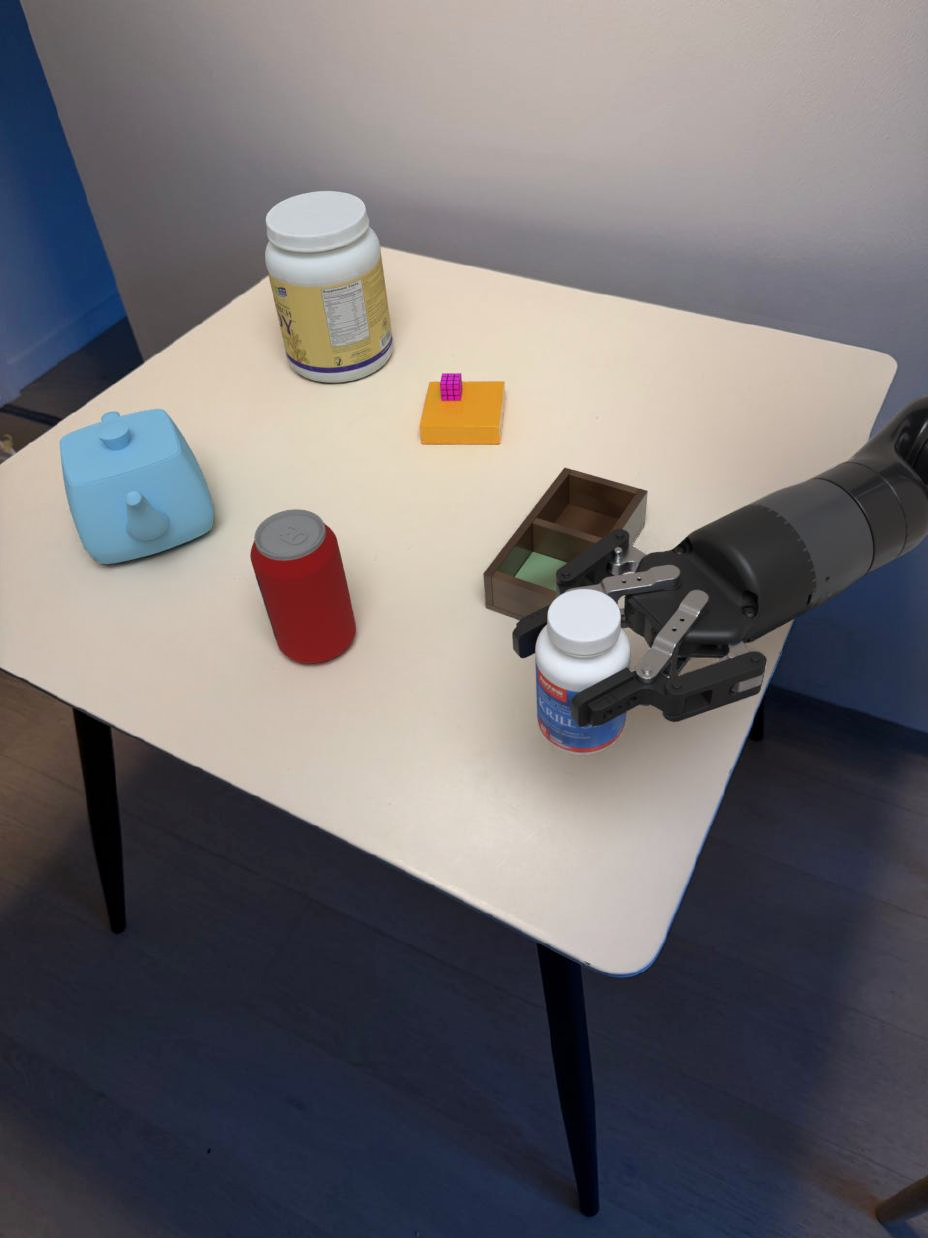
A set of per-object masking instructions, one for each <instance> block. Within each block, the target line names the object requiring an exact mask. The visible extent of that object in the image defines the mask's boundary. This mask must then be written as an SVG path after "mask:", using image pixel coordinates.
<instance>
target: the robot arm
mask: <svg viewBox="0 0 928 1238" xmlns="http://www.w3.org/2000/svg"><path fill="white" fill-rule="evenodd" d="M927 535H928V394H927V393H926V394H924V395H921V396H919V397H916V398H914V399H912V400H911V401H909V402H907V403H906V404H905V405H904V406H902V408H901V409H900V410H898V411H897V413H896V414H894V416H893V417H892V418H891V419H890V420H889V421H888V422H887V423H886V424H885V425H884V426H883V427H882V428H881V429H880V430H879V431H878V432H877V433H876V434H875V435H873V437H871V438H870V439H869V440H868V441H867V442H866V443H864V444H863V446H862V447H861V448H859V449H858V450H857V451H856V452H855V453H854V454H853V455H851V457H849V458H848V459H847V460H845V461H843V462H840V463H838V464H836V465H835V466H832V467H830V468H828V469H826V470H824V471H821V472H820V473H818V474H816V475H814V476H812V477H810V478H808V479H806V480H803V481H802V482H801V481H800V482H799V483H795V484H792V485H789V486H786V487H783V488H780V489H777V490H775V491H773V492H770V493H768V494H766V495H765V496H762V497H760V498H758V499H756V500H754V501H752V502H750V503H748V504H746V505H743V506H742V507H740V508H738V509H736V510H733V511H731V512H730V513H728V514H725V515H724V516H721V517H720V518H718V519H716V520H713V521H712V522H711V521H710V522H709V523H707V524H705V525H703V526H701V527H699V528H697V529H695V530H693V531H691V532H690V533H689V534H688V535H686V537H684V538H683V539H682V540H681V541H680V542H679V543H678V544H677V545H675V547H673V548H671V549H669V550H664V551H653V552H649V553H644V551H642V550H640V549H638V548H636V547H635V546H633V545H630V544H629V533H628V532H627V531H626V530H623V529H616V530H613V531H612V532H610V533H609V534H608V535H606V536H605V537H603V538H602V539H601V540H599V541H598V542H596V543H595V544H593V545H592V546H591V547H589V548H588V549H586V550H585V551H584V552H582V553H581V554H579V555H578V556H576V557H575V558H574V559H572V560H571V561H569V562H568V563H567V564H565V565H564V566H562V567H561V568H559V569H558V570H557V572H556V598H557V597H559V596H560V595H562V594H564V593H566V592H568V591H572V590H577V589H590V590H596V591H599V592H602V593H604V594H606V595H608V596H609V597H610V598H612V599H613V600H614V601H615V602H616V604H617V605H618V606H619V600H620V599H621V598H622V597H624V601H623V608H619V610H620V614H621V628H622V629H623V630H624V629H630V630H631V631H632V632H634V633H635V634H636V635H639V636H640V637H642V638H644V640H645V642H646V644H647V646H648V648H649V650H648V651H647V653H645V655H644V656H643V657H642V659H641V660H640V661H639V663H638V664H637V665H636V666H635V670H633V671H632V670H629V669H628V668H627V667H626V668H624V669H623V670H621V671H619V672H617V673H615V674H613V675H611V676H609V677H607V678H606V679H604V680H602V681H600V682H598V683H596V684H594V685H592V686H590V687H589V688H587V689H585V690H583V691H581V692H579V693H577V694H576V695H575V696H574V697H573V699H572V701H571V717H572V719H573V720H574V721H575V722H576V723H577V725H578V726H579V727H584V726H586V725H588V724H591V725H592V726H599V725H603V724H605V723H607V722H609V721H610V720H612V719H614V718H616V717H617V716H620V715H621V714H623V713H625V712H626V713H627V712H629V711H630V710H632V709H634V708H636V707H638V706H643V707H648V706H650V707H651V706H652V707H654V708H656V709H658V710H659V711H661V712H662V714H661V715H662V716H663V718H664V719H665V720H666V721H667V722H671V723H677V722H682V721H684V720H687V719H689V718H692V717H695V716H699V715H702V714H705V713H707V712H711V711H713V710H716V709H719V708H721V707H725V706H727V705H730V704H734V703H737V702H739V701H742V700H745V699H749V698H750V697H754V696H757V695H758V694H759V693H760V692H761V689H762V685H763V683H764V679H765V678H764V677H765V673H766V667H767V663H768V660H767V657H766V655H765V654H764V653H763V652H761V651H757V650H752V651H751V650H750V649H749V647H748V646H747V645H746V644H750V643H753V642H754V641H756V640H759V639H760V638H762V637H765V636H766V635H767V634H770V633H771V632H773V631H775V630H777V629H778V628H780V627H782V626H784V625H785V624H788V623H790V622H791V621H793V620H795V619H797V618H799V617H800V616H802V615H805V614H806V613H808V612H810V611H812V610H813V609H815V608H818V607H821V606H823V605H824V604H825V603H827V602H828V601H830V600H832V599H833V598H835V597H837V596H838V595H839V594H841V593H843V591H845V590H847V588H849V587H850V586H851V585H853V584H854V583H855V582H857V581H858V580H860V579H861V578H863V577H865V576H867V575H869V574H871V573H872V572H875V571H876V570H878V569H880V568H882V567H884V566H886V565H887V564H889V563H891V562H893V561H895V560H897V559H899V558H900V557H902V556H904V555H906V554H907V553H909V552H911V551H912V550H913V549H915V548H916V547H918V546H919V545H920V544H921V542H923V541H924V539H925V538H926V537H927ZM550 605H551V604H550ZM550 605H548V606H546V607H544V608H542V609H540V610H538V611H536V612H533V613H531V614H530V615H527V616H525V617H523V618H521V619H520V620H518V621H517V623H516V626H515V628H513V630H512V633H511V637H512V639H511V640H512V650H513V651H514V652H515V654H516V655H517V656H518V657H519V658H520V659H527V658H528V657H531V656H533V655H535V648H536V642H537V639H538V636H539V634H540V632H541V631H542V629H543V628H544V627H545V626H546V625H547V616H548V610H549V607H550ZM695 658H696V659H719V662H715V663H713V664H709V665H707V666H703V667H701V668H697V669H694V670H691V671H687V672H686V673H683V674H680V673H681V672H682V671H683V669H684V668H685V667H686V665H687V664H688V663H689V661H690V660H691V659H695Z"/></svg>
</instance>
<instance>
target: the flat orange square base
mask: <svg viewBox="0 0 928 1238" xmlns="http://www.w3.org/2000/svg"><path fill="white" fill-rule="evenodd" d="M506 399H507V398H506V382H505V380H496V381H495V380H491V381H489V380H488V381H487V380H484V381H483V380H481V381H480V380H477V381H474V380H473V381H471V380H470V381H469V380H468V381H467V380H466V381H463V378H462V373H460V372H454V373H453V372H451V373H449V372H447V373H446V372H445V373H443V372H442V373H441V377H440V381H429V382H428V387H427V390H426V396H425V400H424V405H423V410H422V414H421V418H420V423H419V432H420V440H421V444H422V445H500V444H501V439H502V431H503V422H504V415H505V414H504V413H505V406H506Z"/></svg>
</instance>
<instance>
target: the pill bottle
mask: <svg viewBox="0 0 928 1238" xmlns="http://www.w3.org/2000/svg"><path fill="white" fill-rule="evenodd" d="M619 609H620V608H619V604H618V605H617V604H616V602H615V601H614V600H613V599H612V598H610V597H609V596H608V595H606V594H604V593H602V592H599V591H596V590H590V589H577V590H572V591H568V592H566V593H564V594H562V595H560V596H559V597H557V598H556V599H555V600H554V601H553V602H552V604H551V605H550V607H549V610H548V616H547V625H546V626H545V627H544V628H543V629H542V631H541V632H540V634H539V636H538V639H537V642H536V648H535V654H534V656H535V657H534V658H535V660H534V661H535V692H536V693H535V695H536V718H537V725H538V729H539V731H540V733H541V735H542V737H543V738H544V739H545V740H546V741H547V742H548V743H549V744H550V745H551V746H552V747H554V748H555V749H557V750H559V751H561V752H563V753H566V754H568V755H569V754H570V755H573V756H574V755H575V756H591V755H594V754H598V753H601V752H603V751H606V750H607V749H609V748H610V747H612V746H613V745H614V744H615V743H616V742H617V741H618V740H619V739H620V737H621V735H622V734H623V732H624V730H625V726H626V719H627V712H625V713H623V714H621V715H620V716H617V717H616V718H614V719H612V720H610V721H609V722H607V723H605V724H603V725H599V726H592V725H591V724H588V725H586V726H584V727H579V726H578V725H577V723H576V722H575V721H574V720H573V719H572V717H571V701H572V699H573V697H574V696H575V695H576V694H577V693H579V692H581V691H583V690H585V689H587V688H589V687H590V686H592V685H594V684H596V683H598V682H600V681H602V680H604V679H606V678H607V677H609V676H611V675H613V674H615V673H617V672H619V671H621V670H623V669H624V668H626V667H627V668H628V669H629V670H630V669H631V653H632V652H631V649H632V648H631V643H630V639H629V637H628V635H627V633H626V632H625V630H624V629H622V628H621V614H620V610H619ZM630 671H631V670H630Z"/></svg>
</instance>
